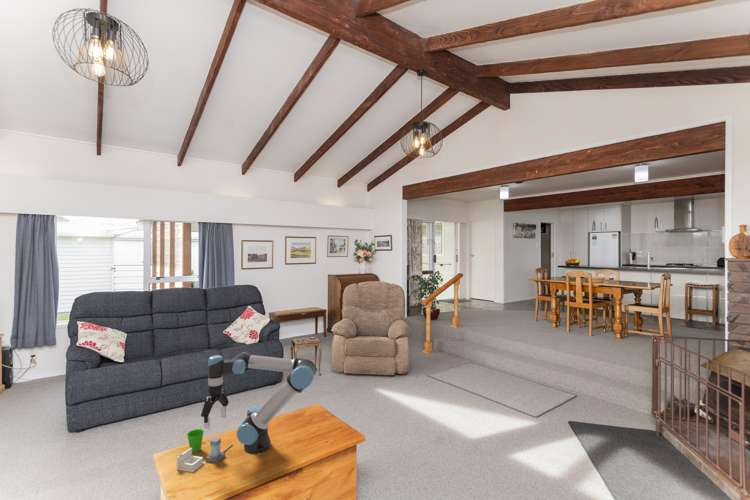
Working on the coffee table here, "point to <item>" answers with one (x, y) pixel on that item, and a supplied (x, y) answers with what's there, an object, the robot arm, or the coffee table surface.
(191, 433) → the cup
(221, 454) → the grey square socket
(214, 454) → the plug
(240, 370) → the robot arm
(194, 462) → the tray
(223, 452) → the cord
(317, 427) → the coffee table surface
